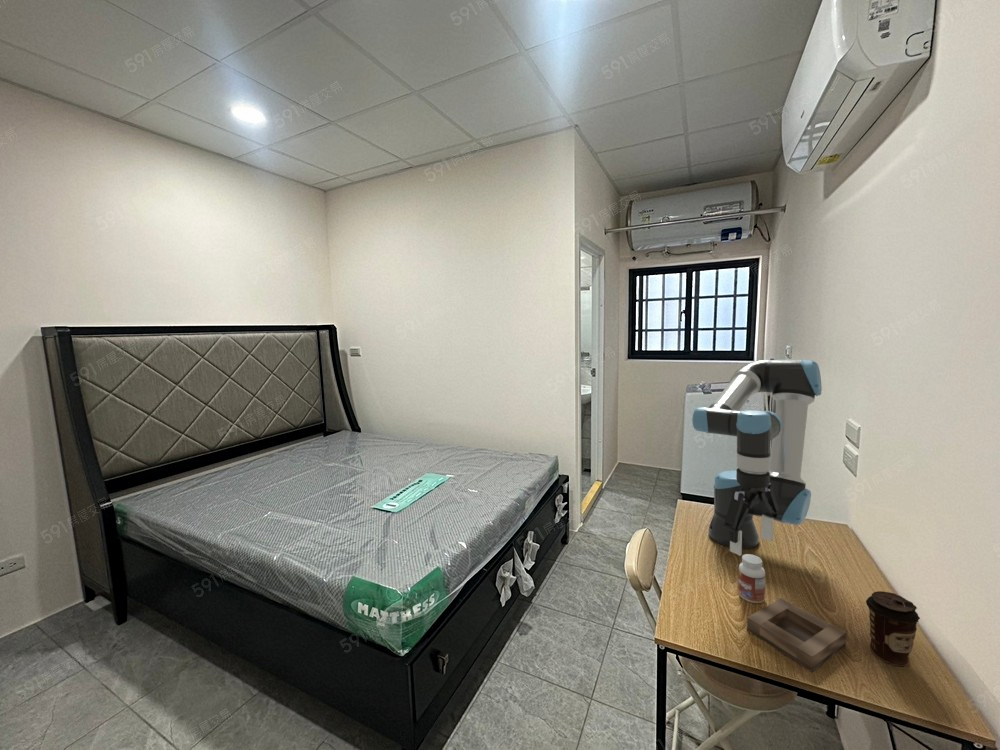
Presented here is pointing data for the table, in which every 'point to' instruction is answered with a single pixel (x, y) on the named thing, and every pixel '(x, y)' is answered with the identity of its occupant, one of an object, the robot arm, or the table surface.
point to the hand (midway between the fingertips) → (751, 546)
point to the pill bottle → (751, 579)
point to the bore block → (797, 633)
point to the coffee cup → (892, 627)
